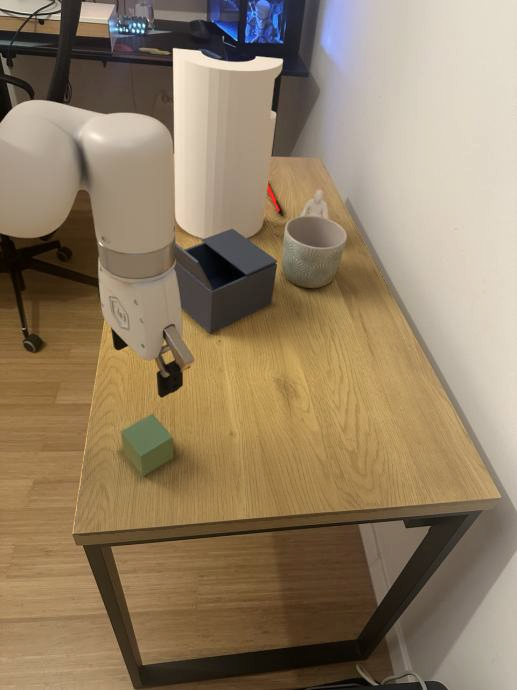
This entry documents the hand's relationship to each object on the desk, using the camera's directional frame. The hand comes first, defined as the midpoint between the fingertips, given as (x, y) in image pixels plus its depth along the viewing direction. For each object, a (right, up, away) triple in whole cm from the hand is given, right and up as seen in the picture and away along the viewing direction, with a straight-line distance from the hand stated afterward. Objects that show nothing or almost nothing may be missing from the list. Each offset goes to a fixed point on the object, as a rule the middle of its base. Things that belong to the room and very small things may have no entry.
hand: (147, 367), depth 62 cm
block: (-2, -13, +9) cm, 16 cm away
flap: (+1, +18, +21) cm, 28 cm away
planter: (+24, +17, +44) cm, 53 cm away
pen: (+17, +41, +68) cm, 81 cm away
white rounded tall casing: (+5, +30, +55) cm, 62 cm away
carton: (+6, +11, +36) cm, 38 cm away
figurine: (+25, +26, +54) cm, 65 cm away
